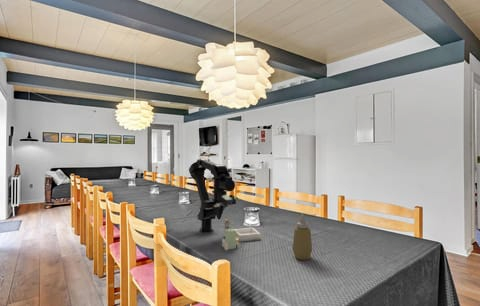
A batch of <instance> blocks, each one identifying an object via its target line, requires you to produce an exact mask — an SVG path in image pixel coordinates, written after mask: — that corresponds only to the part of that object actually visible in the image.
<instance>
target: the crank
mask: <svg viewBox="0 0 480 306" xmlns="http://www.w3.org/2000/svg"><path fill="white" fill-rule="evenodd" d="M225 229H230V221H229V220H228V219H227V218H224V230H225ZM239 244H240V241H239V240H238V238H237V237H236V246H237V245H239Z"/></svg>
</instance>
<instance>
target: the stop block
mask: <svg viewBox="0 0 480 306" xmlns="http://www.w3.org/2000/svg"><path fill="white" fill-rule="evenodd" d="M235 229H236V228H229V229H225V228H224V239H225V240H226V242H227V243H228V250H233V249H237V245H236V230H235Z"/></svg>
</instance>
